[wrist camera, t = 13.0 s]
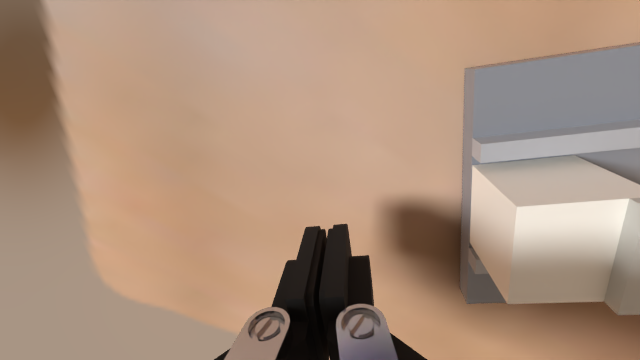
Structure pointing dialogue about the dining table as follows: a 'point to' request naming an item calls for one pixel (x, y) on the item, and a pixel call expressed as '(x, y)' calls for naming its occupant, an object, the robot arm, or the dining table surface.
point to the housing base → (547, 126)
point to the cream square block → (558, 232)
